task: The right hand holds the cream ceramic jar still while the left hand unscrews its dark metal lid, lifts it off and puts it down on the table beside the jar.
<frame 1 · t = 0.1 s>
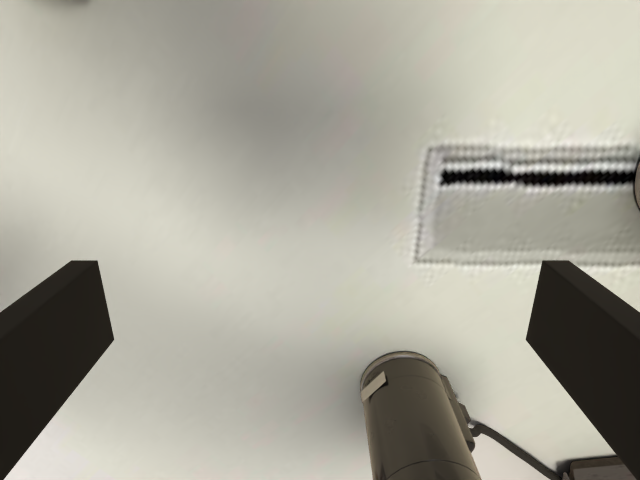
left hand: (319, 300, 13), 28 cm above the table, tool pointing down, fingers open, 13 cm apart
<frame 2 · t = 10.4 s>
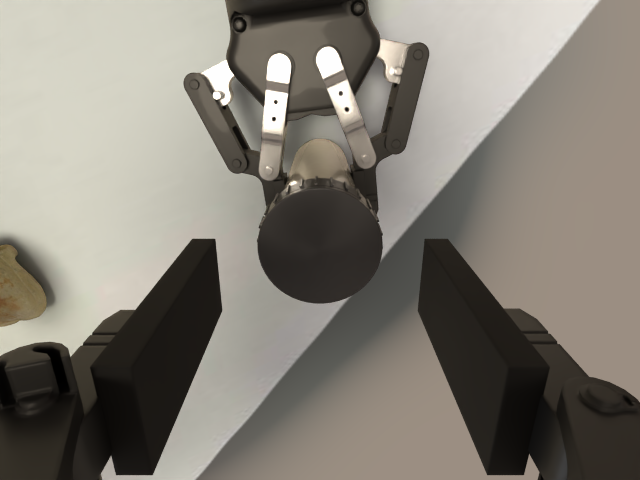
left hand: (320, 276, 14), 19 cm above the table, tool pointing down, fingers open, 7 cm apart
right hand: (325, 226, 27), fingers closed on jar, 4 cm apart
lid: (320, 245, 17), point 16 cm above the table, screwed on, not yet turned
sculpture: (15, 274, 35), on the table
jar: (320, 165, 32), on the table, touching right hand
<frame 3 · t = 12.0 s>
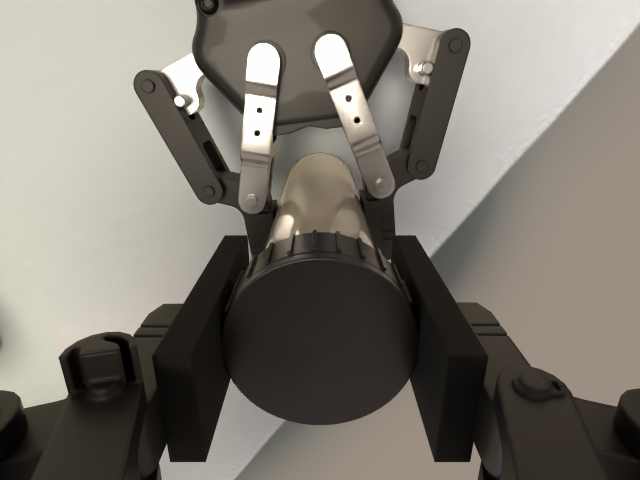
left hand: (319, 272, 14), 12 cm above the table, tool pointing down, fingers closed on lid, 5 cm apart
right hand: (327, 269, 21), fingers closed on jar, 4 cm apart
lid: (320, 340, 11), point 16 cm above the table, screwed on, not yet turned, touching left hand
jar: (320, 186, 26), on the table, touching right hand
when the left hand's fingers open (13 cm above the table, at t = 13.4 s): lid stays where it is, point 17 cm above the table.
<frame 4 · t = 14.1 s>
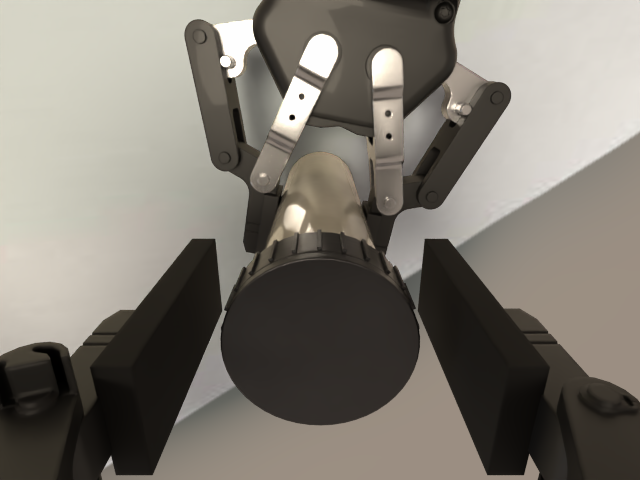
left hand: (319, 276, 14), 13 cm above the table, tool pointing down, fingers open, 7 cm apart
right hand: (310, 266, 21), fingers closed on jar, 4 cm apart
lid: (320, 340, 11), point 17 cm above the table, turned 98° so far, risen 0.3 cm, still on its thread
jar: (320, 184, 26), on the table, touching right hand
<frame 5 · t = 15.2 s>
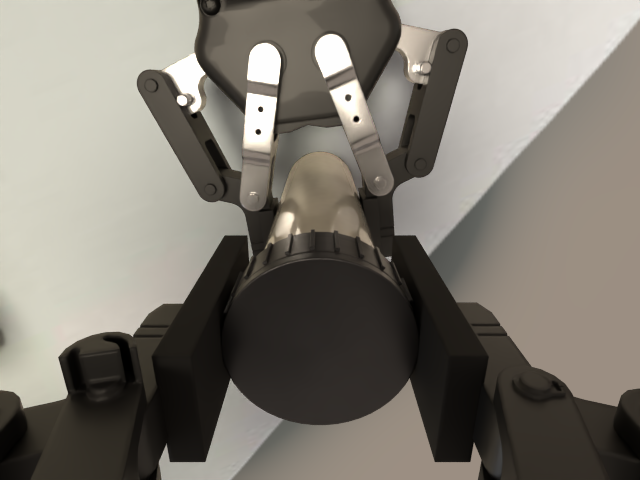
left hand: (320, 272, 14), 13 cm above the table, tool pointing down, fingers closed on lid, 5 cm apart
right hand: (327, 266, 21), fingers closed on jar, 4 cm apart
lid: (320, 340, 11), point 17 cm above the table, turned 98° so far, risen 0.3 cm, still on its thread, touching left hand
jar: (320, 184, 26), on the table, touching right hand
when the left hand's fingers open (0 cm above the table, at t = 22.1 s): lid drops 3 cm, point 1 cm above the table.
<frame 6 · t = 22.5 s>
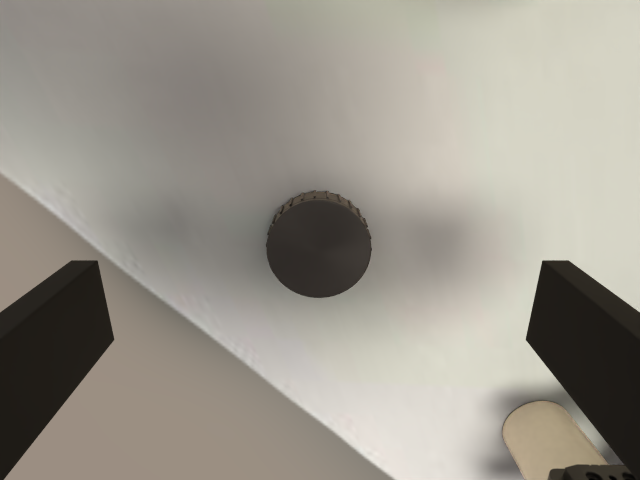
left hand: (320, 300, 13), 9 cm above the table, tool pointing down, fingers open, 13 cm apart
lid: (318, 248, 20), point 1 cm above the table, off its thread
jar: (536, 428, 25), on the table, touching right hand
when the right hand's fingers open (7 cm above the table, at t = 22.7 s): jar stays where it is, on the table.
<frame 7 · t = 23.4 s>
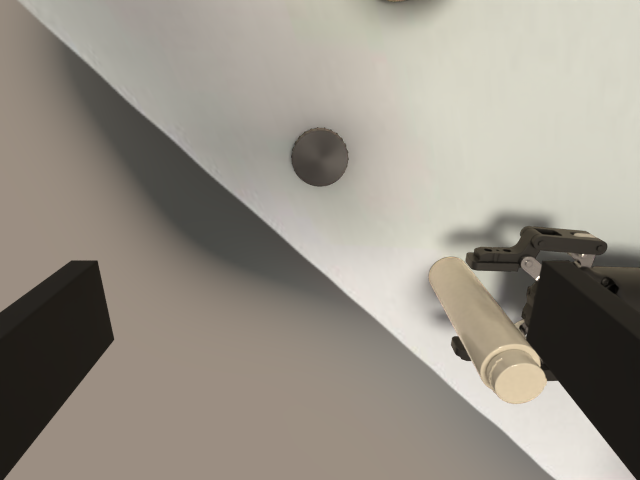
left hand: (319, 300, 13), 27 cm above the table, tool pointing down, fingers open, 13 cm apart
lid: (319, 158, 37), point 1 cm above the table, off its thread
jar: (448, 275, 43), on the table
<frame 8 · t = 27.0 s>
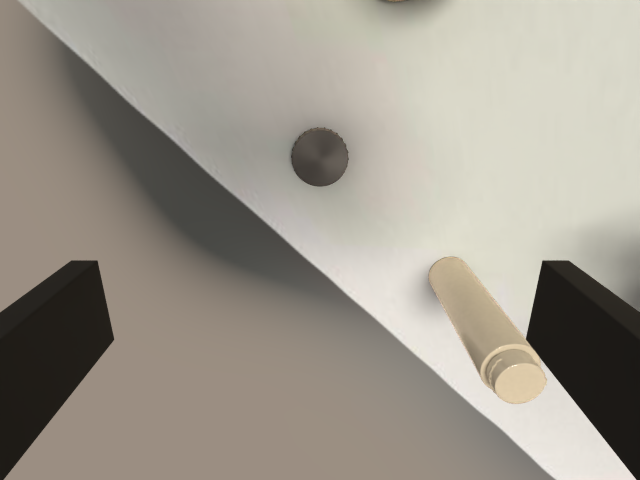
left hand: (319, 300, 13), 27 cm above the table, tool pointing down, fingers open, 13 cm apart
lid: (319, 158, 37), point 1 cm above the table, off its thread
jar: (448, 275, 43), on the table
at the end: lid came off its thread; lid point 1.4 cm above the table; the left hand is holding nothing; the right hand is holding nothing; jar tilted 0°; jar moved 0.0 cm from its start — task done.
